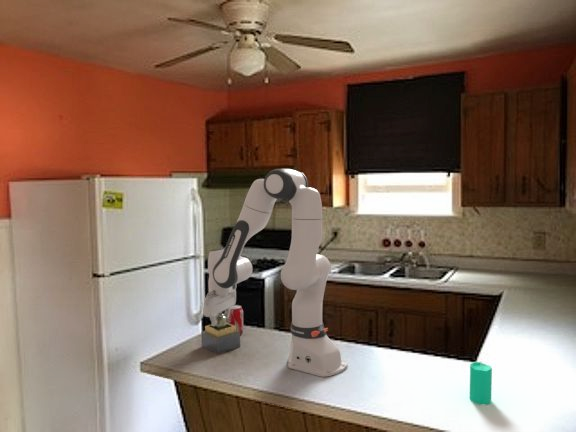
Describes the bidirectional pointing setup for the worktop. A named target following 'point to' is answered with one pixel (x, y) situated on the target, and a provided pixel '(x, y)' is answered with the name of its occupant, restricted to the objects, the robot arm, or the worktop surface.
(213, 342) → the square container
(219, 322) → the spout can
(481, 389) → the candle
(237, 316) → the soda can
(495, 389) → the worktop surface
